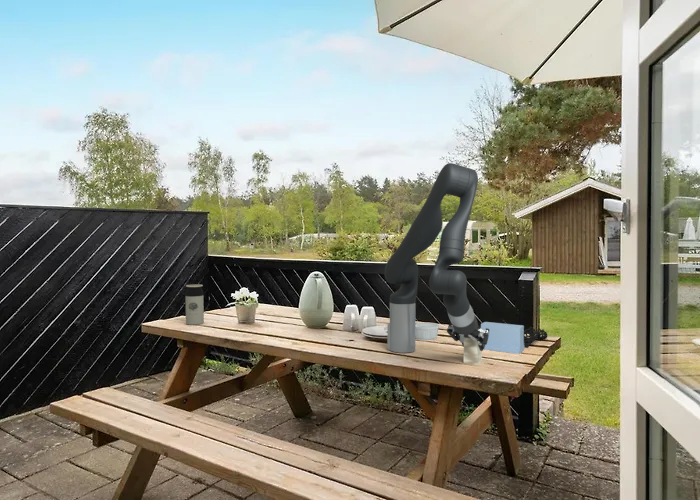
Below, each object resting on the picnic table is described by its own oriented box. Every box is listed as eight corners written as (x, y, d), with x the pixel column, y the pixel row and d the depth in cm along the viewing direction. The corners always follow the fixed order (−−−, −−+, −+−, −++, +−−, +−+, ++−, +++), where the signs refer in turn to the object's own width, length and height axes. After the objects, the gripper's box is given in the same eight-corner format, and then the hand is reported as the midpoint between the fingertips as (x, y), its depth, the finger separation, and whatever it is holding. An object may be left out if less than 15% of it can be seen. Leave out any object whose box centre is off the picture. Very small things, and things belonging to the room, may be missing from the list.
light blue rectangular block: (479, 348, 182) (479, 324, 182) (485, 345, 188) (485, 321, 188) (519, 354, 175) (519, 328, 174) (524, 349, 180) (524, 325, 180)
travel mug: (190, 321, 238) (190, 284, 237) (206, 322, 236) (206, 284, 236) (182, 325, 230) (182, 285, 229) (199, 325, 229) (198, 286, 228)
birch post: (463, 363, 163) (463, 329, 162) (468, 360, 167) (468, 327, 166) (477, 365, 160) (477, 331, 160) (481, 362, 164) (481, 328, 164)
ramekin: (405, 337, 202) (405, 324, 201) (421, 333, 210) (421, 321, 210) (428, 342, 194) (428, 328, 194) (444, 337, 202) (444, 324, 202)
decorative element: (537, 338, 201) (537, 323, 201) (549, 339, 198) (549, 325, 198) (512, 348, 185) (512, 332, 185) (525, 350, 181) (525, 334, 181)
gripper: (487, 308, 153) (498, 340, 163) (443, 305, 160) (456, 335, 171) (481, 328, 148) (493, 360, 159) (436, 324, 156) (450, 354, 167)
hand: (474, 347), depth 165 cm, fingers closed on birch post, 4 cm apart
